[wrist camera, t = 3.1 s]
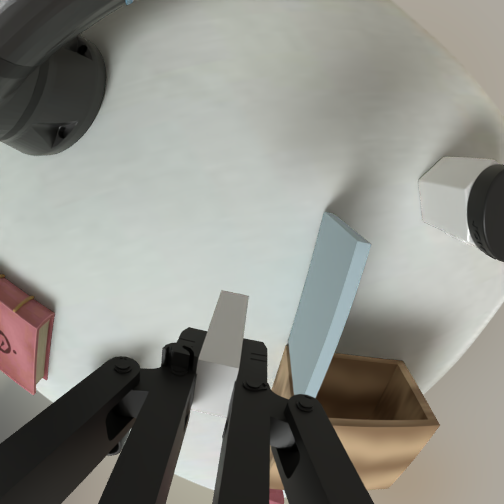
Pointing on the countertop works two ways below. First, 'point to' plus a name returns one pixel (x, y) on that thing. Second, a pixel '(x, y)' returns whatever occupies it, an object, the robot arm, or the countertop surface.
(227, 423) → the robot arm
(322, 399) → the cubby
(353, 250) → the door
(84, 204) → the countertop surface
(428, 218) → the jar
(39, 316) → the book
